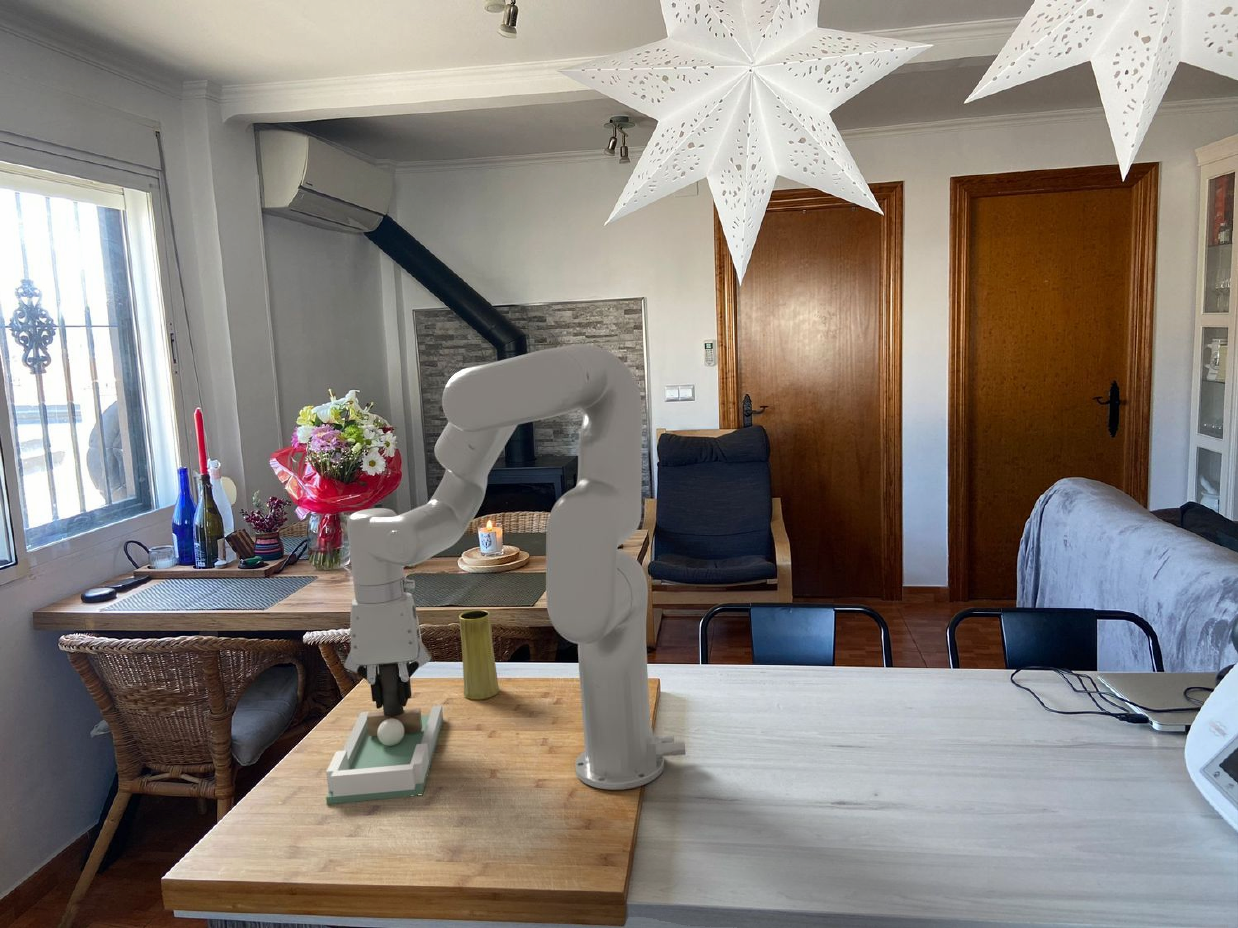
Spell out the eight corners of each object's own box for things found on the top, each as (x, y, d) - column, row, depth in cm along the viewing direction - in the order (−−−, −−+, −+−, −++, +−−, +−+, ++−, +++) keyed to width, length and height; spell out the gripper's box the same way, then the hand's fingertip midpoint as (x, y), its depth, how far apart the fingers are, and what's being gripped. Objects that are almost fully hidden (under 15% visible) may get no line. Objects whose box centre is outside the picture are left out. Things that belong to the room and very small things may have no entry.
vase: (506, 691, 162) (499, 612, 159) (478, 703, 157) (471, 622, 155) (484, 683, 166) (477, 606, 163) (456, 694, 161) (449, 616, 159)
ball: (407, 737, 144) (404, 712, 143) (403, 749, 140) (400, 724, 140) (381, 739, 144) (378, 715, 143) (376, 751, 140) (373, 726, 139)
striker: (422, 725, 147) (415, 657, 145) (420, 733, 144) (413, 665, 142) (371, 729, 147) (364, 662, 145) (368, 738, 144) (360, 669, 142)
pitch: (443, 719, 152) (440, 696, 151) (422, 795, 128) (419, 768, 128) (362, 726, 151) (359, 703, 151) (326, 803, 128) (323, 776, 127)
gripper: (437, 578, 146) (448, 689, 149) (331, 587, 145) (344, 698, 148) (431, 593, 138) (442, 709, 141) (319, 602, 137) (333, 718, 140)
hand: (392, 702), depth 145 cm, fingers closed on striker, 3 cm apart
